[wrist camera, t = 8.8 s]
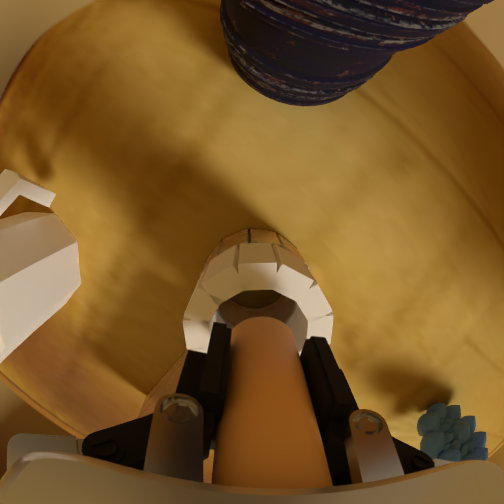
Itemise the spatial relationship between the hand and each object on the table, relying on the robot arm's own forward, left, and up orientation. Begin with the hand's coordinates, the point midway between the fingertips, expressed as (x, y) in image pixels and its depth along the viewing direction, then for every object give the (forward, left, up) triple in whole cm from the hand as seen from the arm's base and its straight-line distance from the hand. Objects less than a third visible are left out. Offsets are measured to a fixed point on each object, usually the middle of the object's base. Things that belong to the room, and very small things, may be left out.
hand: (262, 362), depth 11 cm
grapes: (-27, +1, -10) cm, 29 cm away
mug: (+15, +8, -10) cm, 20 cm away
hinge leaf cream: (-5, +2, -9) cm, 10 cm away
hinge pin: (0, 0, -1) cm, 1 cm away
